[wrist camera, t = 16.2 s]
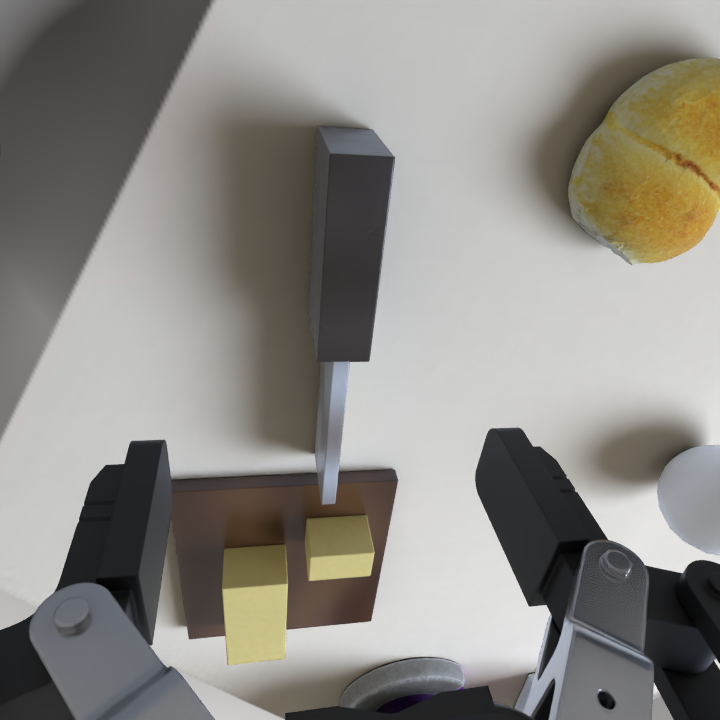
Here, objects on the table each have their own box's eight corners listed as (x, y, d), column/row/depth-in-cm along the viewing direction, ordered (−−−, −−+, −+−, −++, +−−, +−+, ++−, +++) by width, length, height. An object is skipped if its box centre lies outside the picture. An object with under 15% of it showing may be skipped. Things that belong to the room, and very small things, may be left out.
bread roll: (775, 123, 26) (849, 143, 23) (632, 269, 30) (678, 305, 26) (681, 4, 23) (754, 8, 19) (530, 187, 26) (570, 217, 23)
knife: (317, 125, 23) (329, 153, 19) (373, 129, 23) (395, 157, 20) (301, 455, 34) (307, 513, 30) (340, 453, 34) (350, 510, 30)
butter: (229, 624, 41) (227, 665, 38) (223, 548, 36) (221, 589, 33) (283, 619, 42) (285, 659, 39) (285, 543, 37) (287, 583, 34)
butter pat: (304, 541, 37) (308, 581, 34) (306, 517, 35) (310, 557, 33) (363, 537, 37) (370, 576, 35) (366, 514, 36) (375, 552, 34)
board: (190, 627, 42) (188, 639, 41) (169, 479, 33) (167, 492, 32) (369, 609, 44) (371, 621, 44) (395, 469, 36) (398, 480, 35)
